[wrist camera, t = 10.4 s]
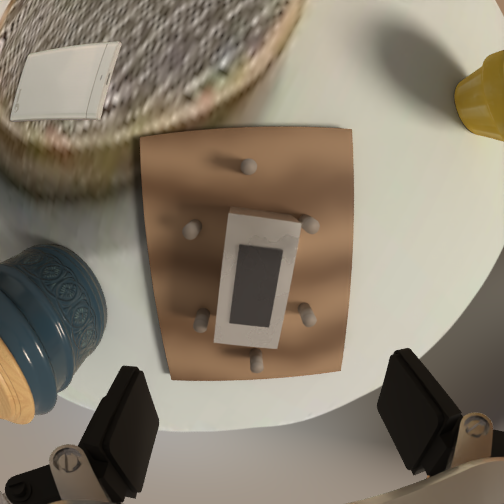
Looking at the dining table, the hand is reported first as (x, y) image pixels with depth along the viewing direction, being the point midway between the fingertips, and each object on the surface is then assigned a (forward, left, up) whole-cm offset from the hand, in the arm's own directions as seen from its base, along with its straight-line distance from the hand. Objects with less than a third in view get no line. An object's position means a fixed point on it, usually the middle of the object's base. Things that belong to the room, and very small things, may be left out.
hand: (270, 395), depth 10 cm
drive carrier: (0, 0, -16) cm, 16 cm away
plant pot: (-17, +26, -17) cm, 35 cm away
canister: (+3, -21, -17) cm, 27 cm away
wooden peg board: (0, 0, -17) cm, 17 cm away
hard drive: (-20, -19, -18) cm, 32 cm away
